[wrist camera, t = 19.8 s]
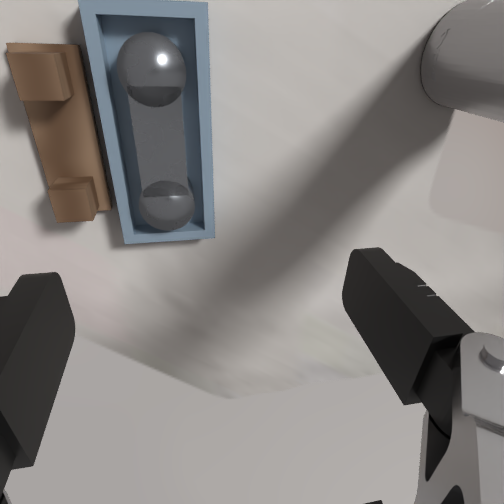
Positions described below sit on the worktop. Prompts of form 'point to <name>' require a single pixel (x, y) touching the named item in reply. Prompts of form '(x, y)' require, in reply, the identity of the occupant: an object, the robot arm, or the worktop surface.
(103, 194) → the wooden plank with blocks
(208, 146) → the slate-blue tray
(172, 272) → the worktop surface
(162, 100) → the steel dumbbell
